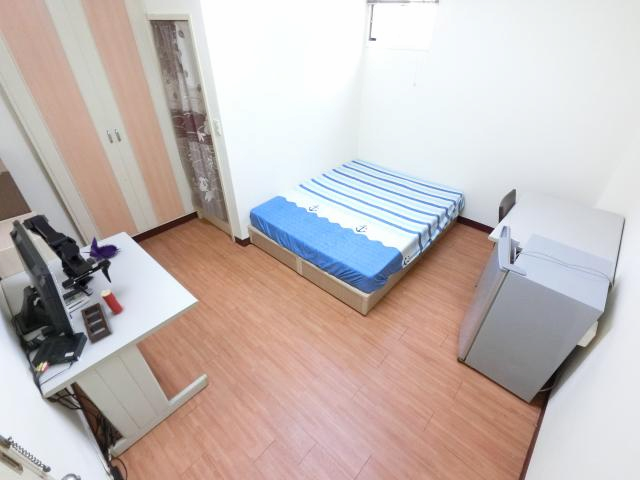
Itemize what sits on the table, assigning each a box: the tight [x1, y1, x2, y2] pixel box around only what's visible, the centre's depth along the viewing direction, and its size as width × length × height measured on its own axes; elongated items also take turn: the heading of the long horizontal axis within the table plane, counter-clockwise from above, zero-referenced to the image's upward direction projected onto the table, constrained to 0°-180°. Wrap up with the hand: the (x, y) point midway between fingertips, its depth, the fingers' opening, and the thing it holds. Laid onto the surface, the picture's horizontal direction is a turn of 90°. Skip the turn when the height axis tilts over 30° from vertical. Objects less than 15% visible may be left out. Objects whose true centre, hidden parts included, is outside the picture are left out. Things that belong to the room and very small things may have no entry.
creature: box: [81, 236, 120, 262], centre depth 159 cm, size 9×18×12 cm, turn 123°
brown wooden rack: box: [80, 302, 112, 344], centre depth 128 cm, size 19×7×3 cm, turn 42°
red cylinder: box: [100, 289, 123, 315], centre depth 130 cm, size 4×4×12 cm
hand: (100, 289), depth 129 cm, fingers open, 9 cm apart
